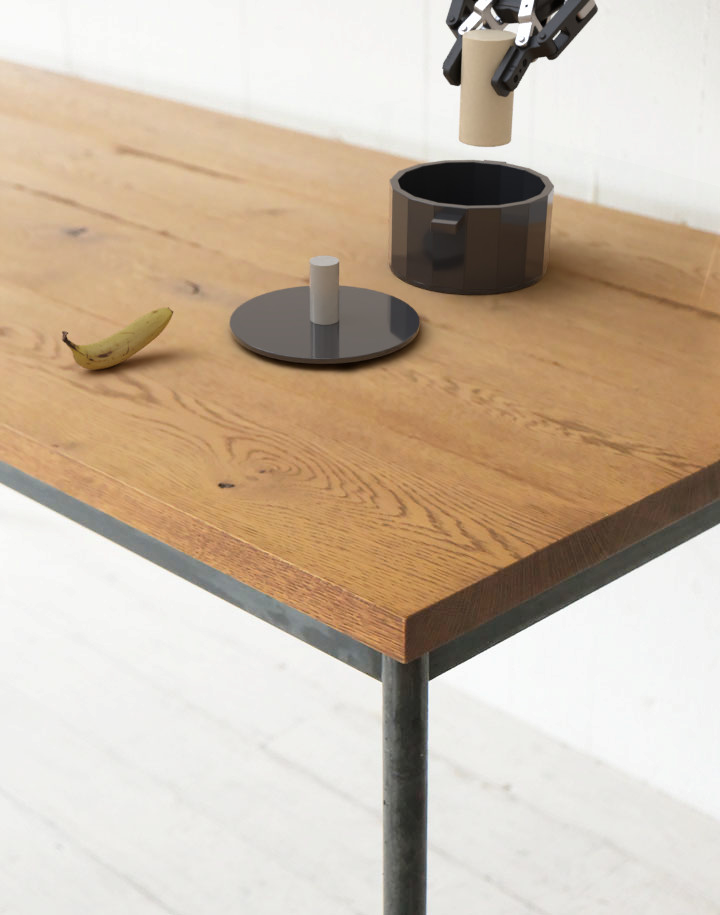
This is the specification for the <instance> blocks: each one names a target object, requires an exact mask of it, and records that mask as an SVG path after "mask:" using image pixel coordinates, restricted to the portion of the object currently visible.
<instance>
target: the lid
mask: <svg viewBox="0 0 720 915" xmlns="http://www.w3.org/2000/svg"><path fill="white" fill-rule="evenodd" d="M308 266H309V268H308V272H309V273H308V274H309V275H308V276H309V277H308V278H309V280H308V281H309V285H302V286H294V287H287V288H281V289H276V290H272V291H269V292H265V293H262V294H260V295H257V296H255V297H253V298H250V299H248V300H246V301H245V302H243V303H241V304H240V305H238V306H237V307H236V309H234V310H233V312H232V313H231V315H230V318H229V324H228V325H229V331H230V332H229V333H230V334H231V335H232V336H231V337H232V338H233V339H234V340H235V341H236V342H237V343H238V344H239V345H241V346H242V347H244V348H245V349H247V350H249V351H251V352H253V353H255V354H259V355H262V356H264V357H268V358H271V359H276V360H280V361H284V362H292V363H301V364H314V365H315V364H316V365H333V364H334V365H335V364H347V363H356V362H363V361H368V360H373V359H376V358H380V357H384V356H387V355H389V354H392V353H394V352H397V351H399V350H401V349H402V348H404V347H406V346H407V345H409V344H410V343H412V341H414V339H415V338H416V337H417V335H418V333H419V331H420V326H421V325H420V324H421V321H420V317H419V314H418V312H417V310H416V309H414V308H413V306H411V305H410V304H409V303H407V302H405V301H404V300H402V299H400V298H398V297H396V296H393V295H391V294H389V293H385V292H381V291H379V290H374V289H370V288H365V287H364V288H363V287H357V286H349V285H340V259H339V258H338V257H336V256H333V255H316V256H313V257H310V259H309V260H308Z"/></svg>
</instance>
